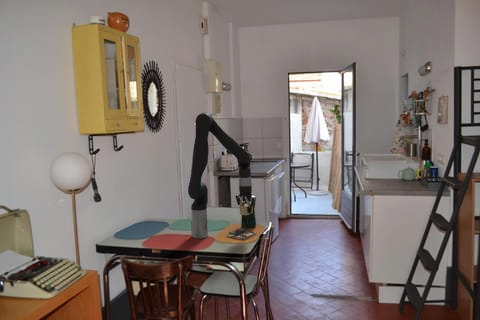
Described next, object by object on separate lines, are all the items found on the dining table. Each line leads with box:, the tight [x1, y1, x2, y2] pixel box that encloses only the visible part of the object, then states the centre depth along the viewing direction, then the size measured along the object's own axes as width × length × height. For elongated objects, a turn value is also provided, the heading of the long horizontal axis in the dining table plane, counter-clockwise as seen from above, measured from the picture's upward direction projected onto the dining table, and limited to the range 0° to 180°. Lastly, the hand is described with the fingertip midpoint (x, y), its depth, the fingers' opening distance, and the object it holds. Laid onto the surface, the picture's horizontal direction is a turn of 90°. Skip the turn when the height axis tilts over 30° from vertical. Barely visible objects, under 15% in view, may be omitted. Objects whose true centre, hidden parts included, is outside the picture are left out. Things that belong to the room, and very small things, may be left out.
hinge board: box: [226, 227, 257, 241], centre depth 243 cm, size 13×13×4 cm
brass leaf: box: [239, 204, 253, 216], centre depth 238 cm, size 4×7×5 cm, turn 144°
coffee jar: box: [240, 198, 257, 228], centre depth 260 cm, size 10×8×19 cm
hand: (246, 212), depth 239 cm, fingers closed on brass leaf, 4 cm apart
